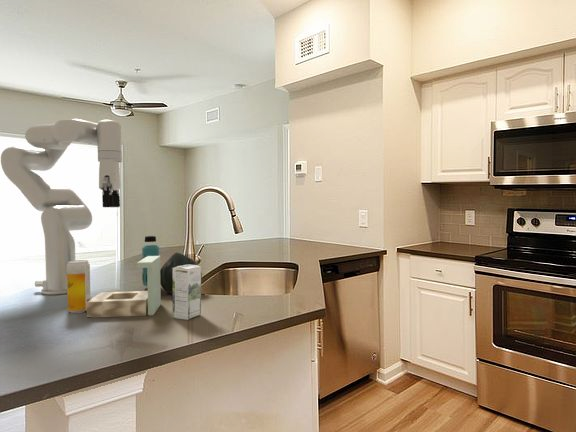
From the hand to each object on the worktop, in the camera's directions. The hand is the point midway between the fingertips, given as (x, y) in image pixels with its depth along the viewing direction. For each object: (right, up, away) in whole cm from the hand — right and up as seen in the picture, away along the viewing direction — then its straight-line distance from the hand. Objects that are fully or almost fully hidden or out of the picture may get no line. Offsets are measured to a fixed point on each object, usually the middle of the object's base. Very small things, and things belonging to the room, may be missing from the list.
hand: (111, 207), depth 134 cm
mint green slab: (+19, -32, -16) cm, 40 cm away
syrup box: (+32, -32, -23) cm, 51 cm away
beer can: (-2, -32, -17) cm, 36 cm away
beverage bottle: (+9, -31, +14) cm, 35 cm away
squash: (+22, -31, +8) cm, 39 cm away
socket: (+11, -32, -17) cm, 37 cm away
